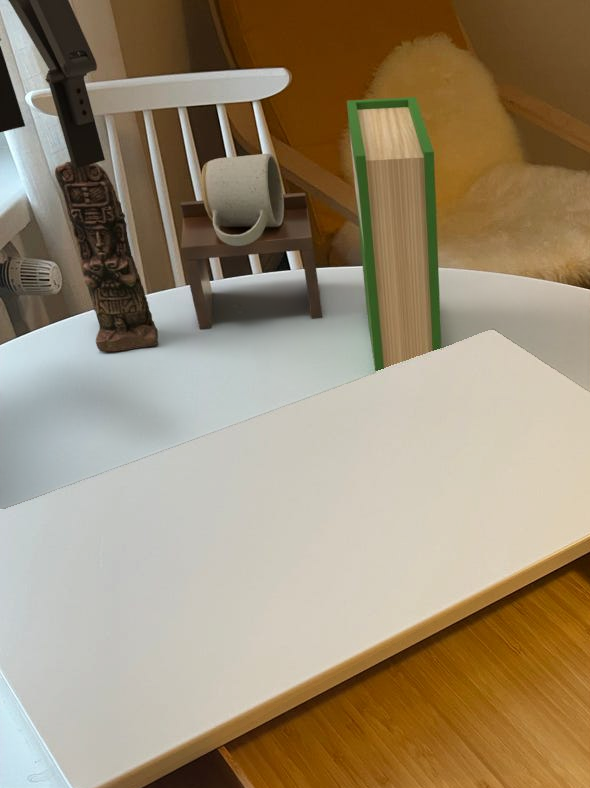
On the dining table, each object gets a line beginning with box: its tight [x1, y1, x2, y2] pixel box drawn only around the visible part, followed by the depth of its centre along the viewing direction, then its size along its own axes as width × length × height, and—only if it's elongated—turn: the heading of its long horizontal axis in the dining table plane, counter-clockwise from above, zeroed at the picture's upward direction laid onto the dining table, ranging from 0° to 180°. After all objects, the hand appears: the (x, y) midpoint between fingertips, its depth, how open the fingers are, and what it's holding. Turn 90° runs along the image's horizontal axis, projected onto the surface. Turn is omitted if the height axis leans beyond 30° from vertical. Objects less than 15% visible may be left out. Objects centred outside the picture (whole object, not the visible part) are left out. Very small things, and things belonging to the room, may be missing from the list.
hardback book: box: [346, 96, 442, 372], centre depth 103 cm, size 18×7×24 cm, turn 8°
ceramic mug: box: [200, 153, 284, 246], centre depth 108 cm, size 11×8×8 cm
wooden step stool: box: [180, 192, 323, 330], centre depth 115 cm, size 15×10×12 cm, turn 101°
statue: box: [54, 160, 159, 352], centre depth 106 cm, size 7×7×20 cm
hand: (48, 145), depth 84 cm, fingers open, 13 cm apart
